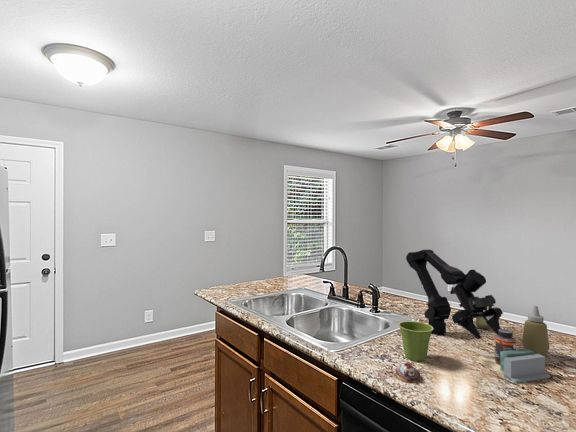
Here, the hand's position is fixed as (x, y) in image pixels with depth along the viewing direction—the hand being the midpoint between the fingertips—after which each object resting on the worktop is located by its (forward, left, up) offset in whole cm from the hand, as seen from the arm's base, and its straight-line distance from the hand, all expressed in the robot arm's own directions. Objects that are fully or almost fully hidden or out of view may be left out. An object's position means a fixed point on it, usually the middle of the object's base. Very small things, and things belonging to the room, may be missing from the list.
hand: (490, 337), depth 115 cm
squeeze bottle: (+15, +13, -8) cm, 21 cm away
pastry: (-23, -29, -8) cm, 38 cm away
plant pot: (-23, -13, -8) cm, 28 cm away
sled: (+4, -4, -8) cm, 10 cm away
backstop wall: (+9, -9, -8) cm, 15 cm away
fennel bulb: (-1, +36, -8) cm, 37 cm away
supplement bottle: (+4, -4, -7) cm, 9 cm away
